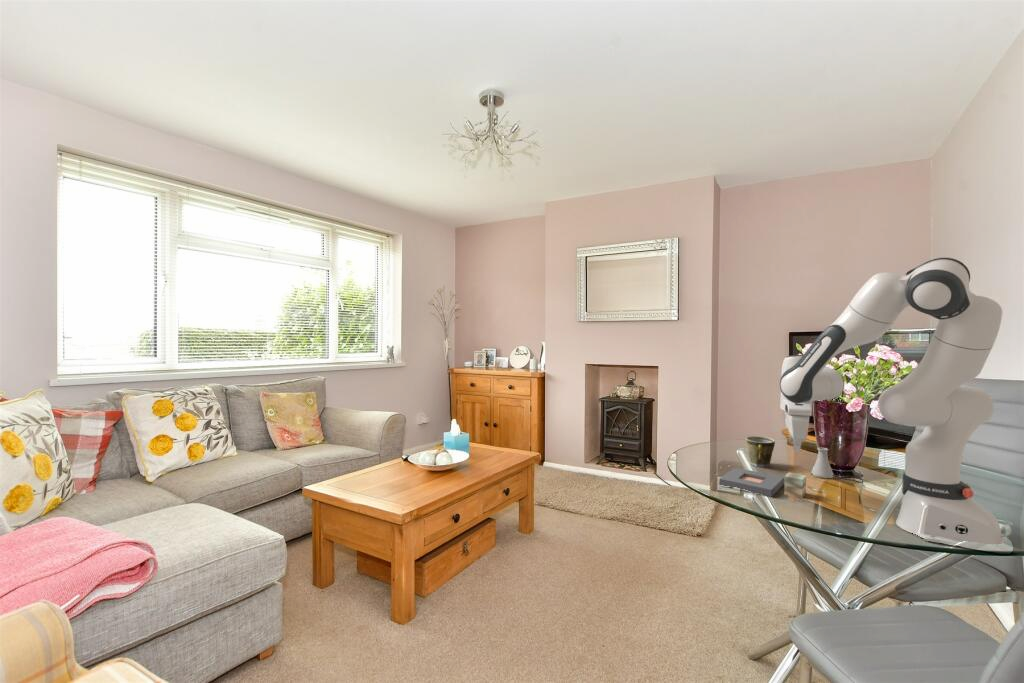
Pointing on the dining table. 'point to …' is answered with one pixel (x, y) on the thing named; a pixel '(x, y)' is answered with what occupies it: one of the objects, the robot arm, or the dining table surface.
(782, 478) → the pocket plate
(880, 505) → the dining table surface
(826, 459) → the flask
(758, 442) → the ceramic cup
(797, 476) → the faceted block
